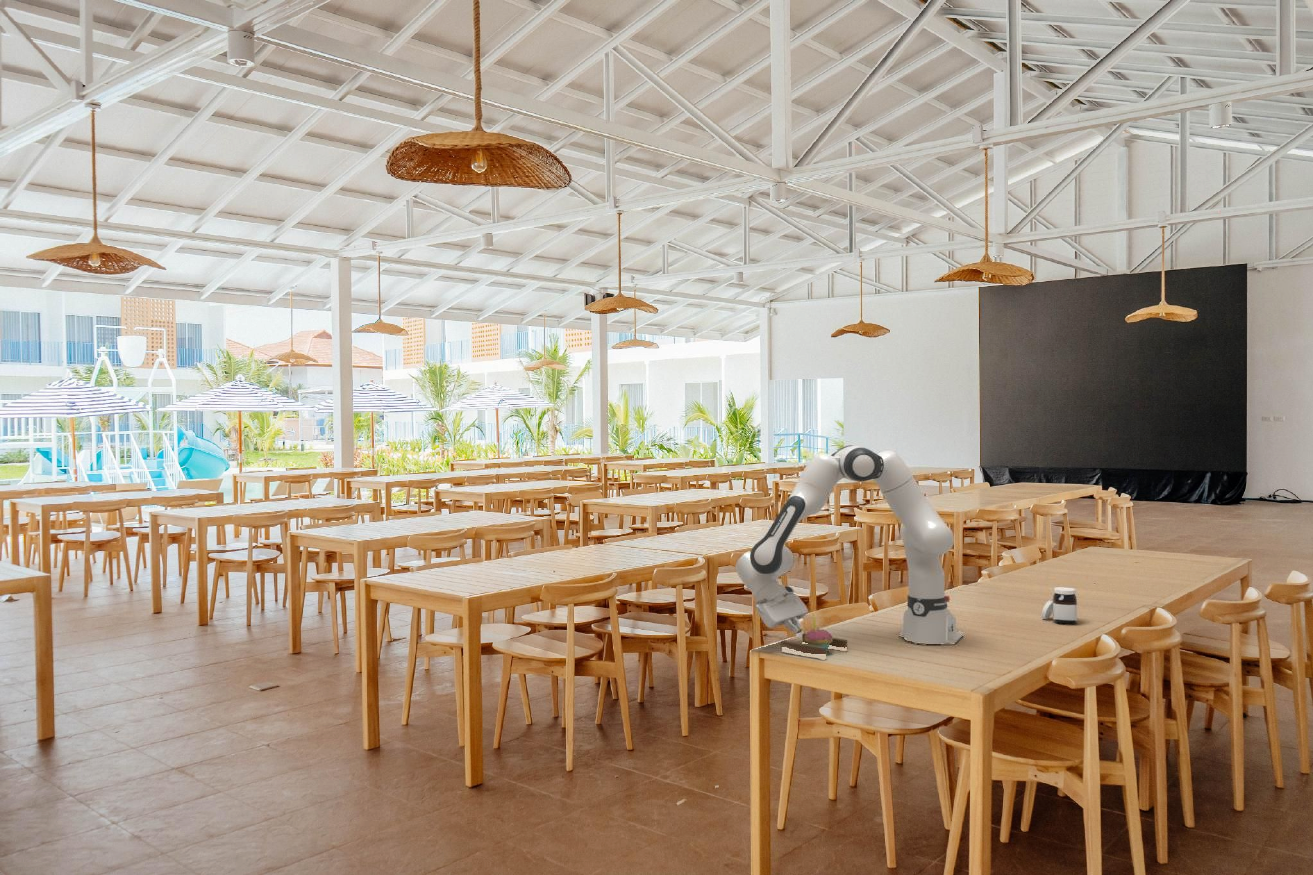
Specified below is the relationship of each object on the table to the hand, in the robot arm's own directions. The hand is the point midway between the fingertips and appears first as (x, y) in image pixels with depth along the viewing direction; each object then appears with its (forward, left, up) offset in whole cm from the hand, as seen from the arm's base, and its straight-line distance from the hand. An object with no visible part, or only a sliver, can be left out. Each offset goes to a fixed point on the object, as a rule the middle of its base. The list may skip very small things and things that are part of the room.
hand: (798, 632), depth 299 cm
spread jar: (-89, +50, -6) cm, 102 cm away
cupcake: (0, +7, -5) cm, 9 cm away
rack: (0, +5, -5) cm, 8 cm away
